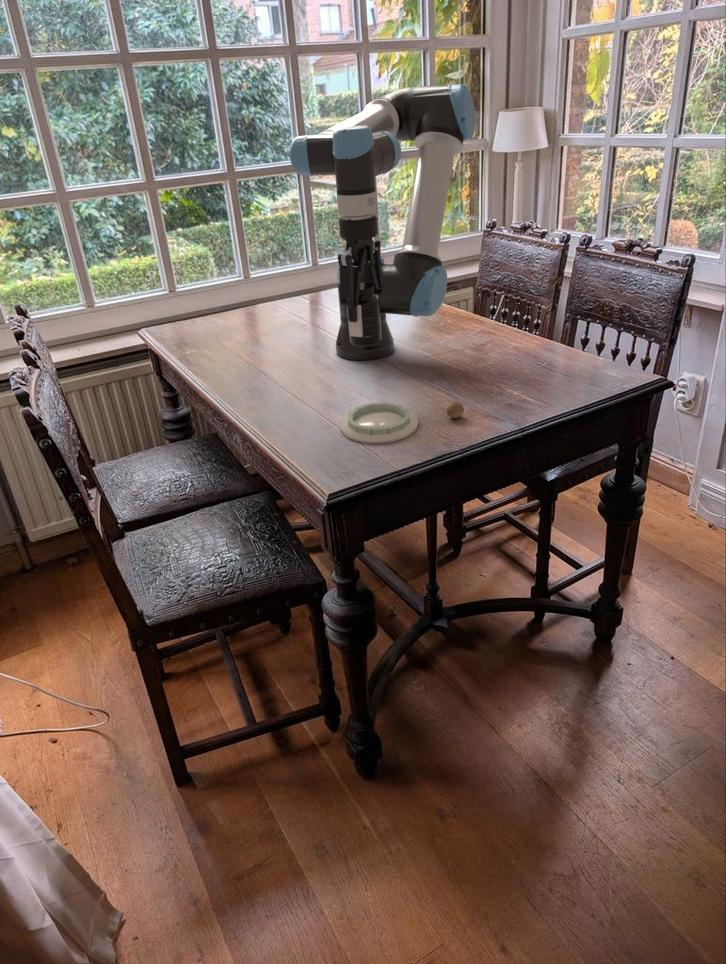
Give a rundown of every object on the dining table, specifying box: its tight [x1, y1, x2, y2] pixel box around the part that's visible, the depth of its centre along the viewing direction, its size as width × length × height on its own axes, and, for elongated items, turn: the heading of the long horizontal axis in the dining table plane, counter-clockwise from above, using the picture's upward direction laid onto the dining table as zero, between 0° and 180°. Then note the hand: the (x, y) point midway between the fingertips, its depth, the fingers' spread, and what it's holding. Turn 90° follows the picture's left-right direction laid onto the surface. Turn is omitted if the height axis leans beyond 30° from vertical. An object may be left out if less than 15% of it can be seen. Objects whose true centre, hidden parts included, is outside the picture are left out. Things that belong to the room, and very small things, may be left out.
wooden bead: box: [446, 401, 465, 420], centre depth 139 cm, size 4×4×4 cm
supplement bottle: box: [347, 283, 381, 347], centre depth 143 cm, size 7×7×12 cm
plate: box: [339, 402, 419, 444], centre depth 138 cm, size 16×16×2 cm
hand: (365, 330), depth 144 cm, fingers closed on supplement bottle, 7 cm apart
